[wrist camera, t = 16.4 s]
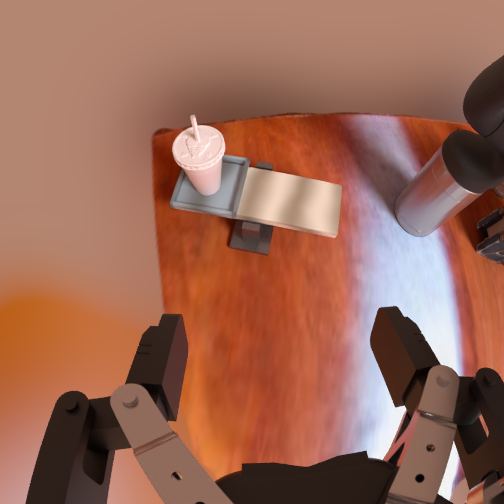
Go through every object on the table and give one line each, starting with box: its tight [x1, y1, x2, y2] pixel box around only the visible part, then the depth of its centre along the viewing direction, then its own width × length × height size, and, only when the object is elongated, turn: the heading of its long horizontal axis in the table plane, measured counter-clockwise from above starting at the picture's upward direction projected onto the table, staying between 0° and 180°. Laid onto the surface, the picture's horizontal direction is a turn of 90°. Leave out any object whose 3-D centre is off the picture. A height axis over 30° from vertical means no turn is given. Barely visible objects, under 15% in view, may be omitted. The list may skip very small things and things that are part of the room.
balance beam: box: [170, 155, 342, 238], centre depth 43 cm, size 24×10×3 cm, turn 78°
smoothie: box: [172, 115, 225, 195], centre depth 36 cm, size 6×6×14 cm
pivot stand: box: [229, 161, 274, 256], centre depth 46 cm, size 6×14×6 cm, turn 168°
